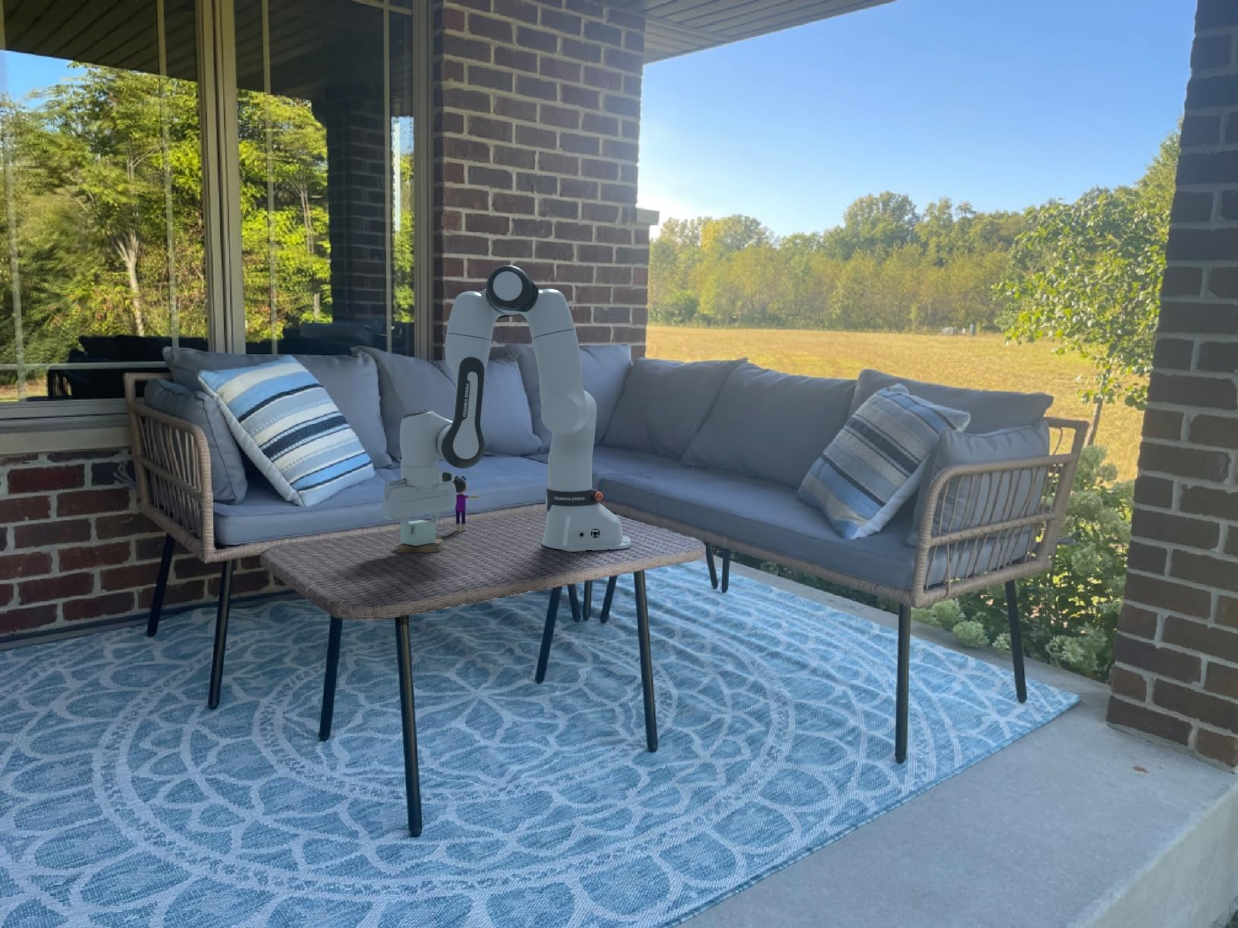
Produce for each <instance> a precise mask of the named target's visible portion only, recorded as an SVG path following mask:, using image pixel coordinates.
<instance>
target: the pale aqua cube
mask: <svg viewBox="0 0 1238 928" xmlns="http://www.w3.org/2000/svg"><path fill="white" fill-rule="evenodd" d="M408 522H409V524H410V526H411V527H413V534H412V535H406V534H405V528H404V526H403V525H402V523H401V522H400V523H399V524H400V525H399V526H400V529H399V530H400V543H404V544H409V545H414V546H418V545H424V544H430V543H436V539H437V538H436V537H437V535H436V530H435V522H430V520H429V521H428V520H423V519H418V520H412V521H411V520H410V521H408Z"/></svg>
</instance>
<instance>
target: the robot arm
mask: <svg viewBox="0 0 1238 928" xmlns="http://www.w3.org/2000/svg"><path fill="white" fill-rule="evenodd" d="M571 312H572V311H571V309H570V307H569V304H568V301H567V300H566V297H565V295H564V294H563V293H562V292H561V291H560V290H557V289H554V288H544V289H539V287H538V285H536V283H535V282H534V281H533V280H532V279H531V277H529V275H528V274H527V273H526V272H525V271H524V270H522V268H520V267H517V266H515V265H511V264H507V265H501V266H498V267H496V268H495V269H493V270H492V272H491V273H489V275H488V277H487V279H486V283H485V289H483V290H481V291H473V290H468V291H464V292H461V293H460V294H458V295H457V296H456V297H455V299H454V301H453V304H452V308H451V310H450V315H449V318H448V322H447V328H446V335H445V345H444V346H445V347H444V350H445V351H444V352H445V354H444V355H445V362H446V365H447V366H448V369H450V371H451V373H452V375H453V378H454V382H455V397H454V406H453V415H452V417H453V419H452V420H450V419H447V418H445V417H443V416H441V415H440V414H438V413H436V412H434V411H433V410H431V409H418V410H414V411H410V412H407V413H406V414H405V415H403V417H402V418H401V420H400V426H399V427H400V428H399V449H400V453H401V460H400V478H399V479H395V480H393V479H391V480H388V482H387V483H386V484H385V485H384V486H383V499H382V516H383V517H384V519H386V520H390V521H391V520H392V521H395V520H399V521H400V523H402V525H403V526H404V528H405V534H406V535H412V534H413V527H411V526H410V524H409V522H410V521H411V518H412V517H417V516H423V515H428V514H429V515H430V520H429V522H435V531H437V523H438V521H439V519H440V516H441V512H446V511H451V510H455V506H456V495H457V493H456V488H455V485H454V483H453V482H452V481H454V478H455V477H456V476H455V473H454V472H451V471H447V470H443V469H441V468H439V467H438V463H439V460H445V461H446V462H447V463H448V464H449V465H451V466H452V467H454V468H456V469H461V470H464V469H469V468H473V467H474V466H476V465H477V464H478V463H479V462H480V461H481V460H482V458H483V456H484V453H485V450H486V446H485V440H484V439H485V438H484V435H483V432H482V426H481V419H482V418H481V417H482V414H481V413H482V407H483V406H482V405H483V395H484V383H485V376H486V373H487V366H488V362H489V358H490V353H491V348H492V341H493V333H494V327H495V323H496V322H497V319H503V318H511V317H516V316H519V315H521V316H523V317H524V318H525V320H526V322H527V325H528V328H529V332H530V337H531V342H532V346H533V350H534V351H533V352H534V356H535V360H536V367H537V372H538V381H539V382H538V383H539V384H538V386H539V399H540V405H541V406H540V407H541V408H540V409H541V410H540V416H541V422H542V424H543V425H544V427H545V428H546V429H548V431H550V432H551V440H550V448H549V452H548V456H547V487H546V493H545V508H546V522H545V528H544V534H543V538H542V541H541V545H543V547H547V548H550V549H557V550H562V551H564V552H571V553H572V552H587V551H586V550H592V551H607V550H608V549H609V550H623V549H628V548H630V547H631V546H632V541H631V538H630V537H629V536H628V535H626V534H624V533H623V526H622V524H621V520H620V519H619V517H618V516H617V515H616V514H614V513H613V512H612V511H610V510H609V508H606V507H605V506H604V505H603V504H601V503H600V502H601V501H602V499H604V494H603V493H602V492H601V491H599V490H598V489H596V488H594V487H593V454H594V446H595V445H594V444H595V438H596V437H595V436H596V427H597V426H596V425H597V413H598V407H597V403H596V399H595V398H594V397H593V396H592V395H591V394H590V392H588V391H586V390H585V389H584V381H583V380H584V379H583V359H582V356H581V355H582V354H581V350H580V345H579V340H578V335H577V331H576V326H575V323H574V320H573V315H572V313H571Z"/></svg>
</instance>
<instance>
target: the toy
mask: <svg viewBox="0 0 1238 928" xmlns="http://www.w3.org/2000/svg"><path fill="white" fill-rule="evenodd" d="M466 480H467V479H466V477H465V476H463V475H462V476H460V477H459V476H458V475H456V476H455V478H454V481H452V482H453V483H454V485H455V488H456V506H455V508H454V510H455V524H456V525H455V526H456V527H455V528H456V531H457V532H459V531H462V532H465V531H466V530H467V529H466V511H467V510H466V509H467V506H466V505H467V499H470V498H471V499H472V498H473V499H479V498H480V496H479V495H465V494H463V493H465V492H466V491H467V490H468V485H467V482H466ZM460 520H461V521H460ZM460 523H461V526H460ZM460 527H461V528H460Z"/></svg>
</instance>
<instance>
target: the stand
mask: <svg viewBox="0 0 1238 928" xmlns="http://www.w3.org/2000/svg"><path fill="white" fill-rule="evenodd" d="M443 544H444V539H443V538H436V543H430V544H424V545H418V546H414V545H409V544H404V543H401V542H400V543H399V544H398V545H397V547H396V553H440V550H441V548H442V546H443Z"/></svg>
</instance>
